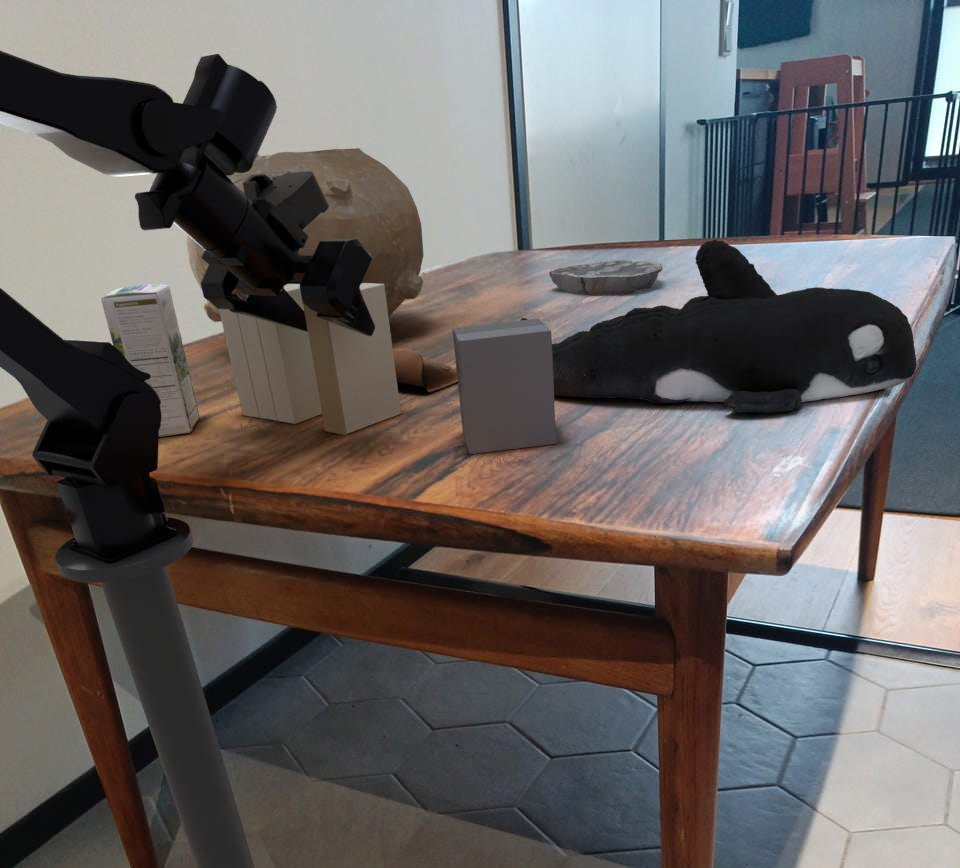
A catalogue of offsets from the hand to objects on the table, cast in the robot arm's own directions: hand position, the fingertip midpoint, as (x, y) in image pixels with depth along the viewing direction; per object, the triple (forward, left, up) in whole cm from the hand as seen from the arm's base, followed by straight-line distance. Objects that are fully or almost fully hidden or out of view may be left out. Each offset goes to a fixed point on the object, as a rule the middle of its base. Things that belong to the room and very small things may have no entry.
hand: (340, 329), depth 87 cm
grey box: (+2, -18, -10) cm, 21 cm away
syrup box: (-9, +19, -10) cm, 24 cm away
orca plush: (+25, -26, -10) cm, 37 cm away
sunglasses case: (+15, +9, -10) cm, 21 cm away
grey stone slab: (+78, +16, -10) cm, 80 cm away
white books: (+2, +11, -10) cm, 15 cm away
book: (+1, 0, -10) cm, 10 cm away
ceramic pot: (+32, +39, -10) cm, 51 cm away
